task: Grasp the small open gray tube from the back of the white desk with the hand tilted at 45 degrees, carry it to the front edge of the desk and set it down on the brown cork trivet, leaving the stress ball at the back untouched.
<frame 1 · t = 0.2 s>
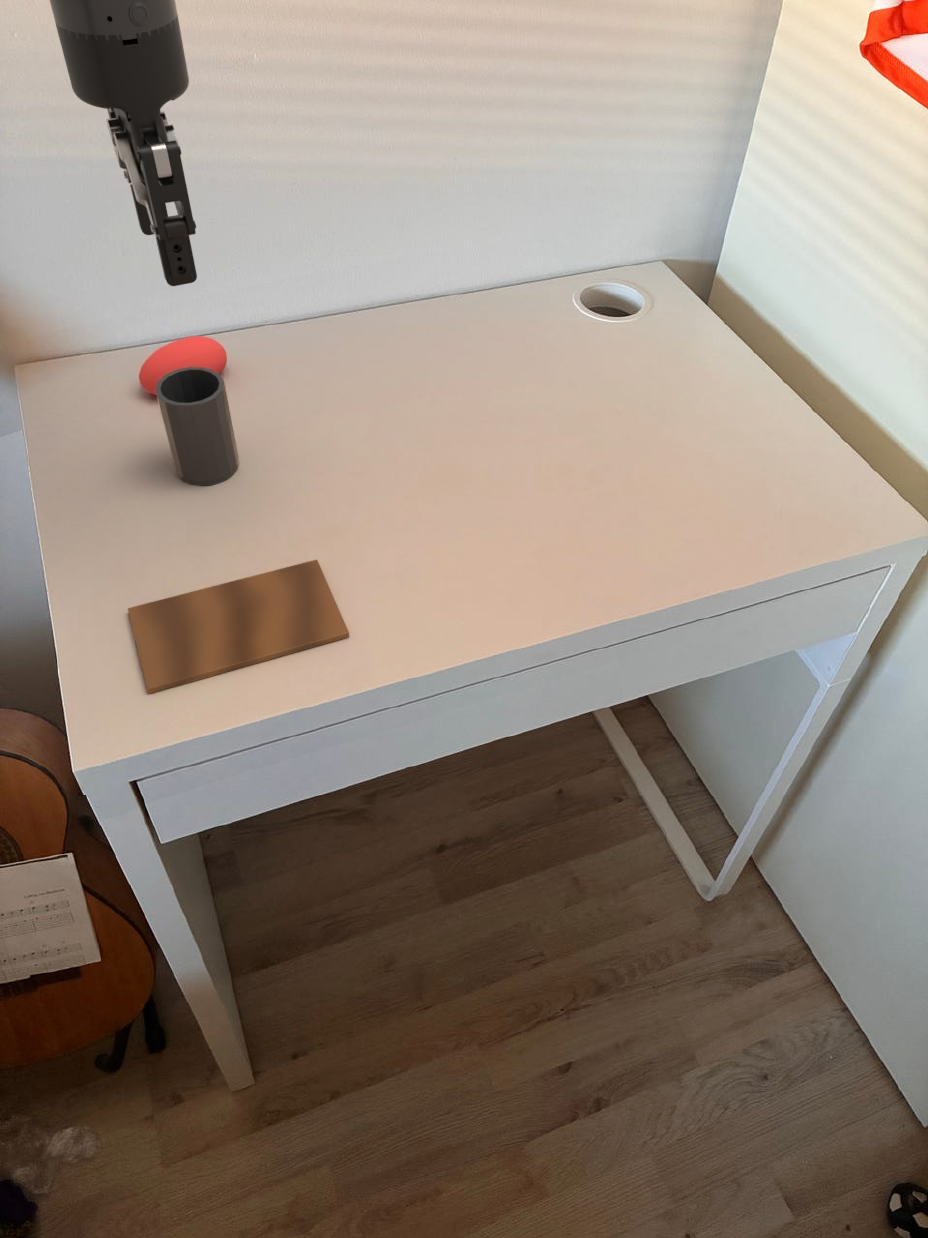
hand: (168, 256, 72), 23 cm above the table, tool pointing down, fingers open, 8 cm apart
open gray tube: (207, 465, 91), on the table
stress ball: (188, 385, 100), on the table
trivet: (238, 625, 77), on the table
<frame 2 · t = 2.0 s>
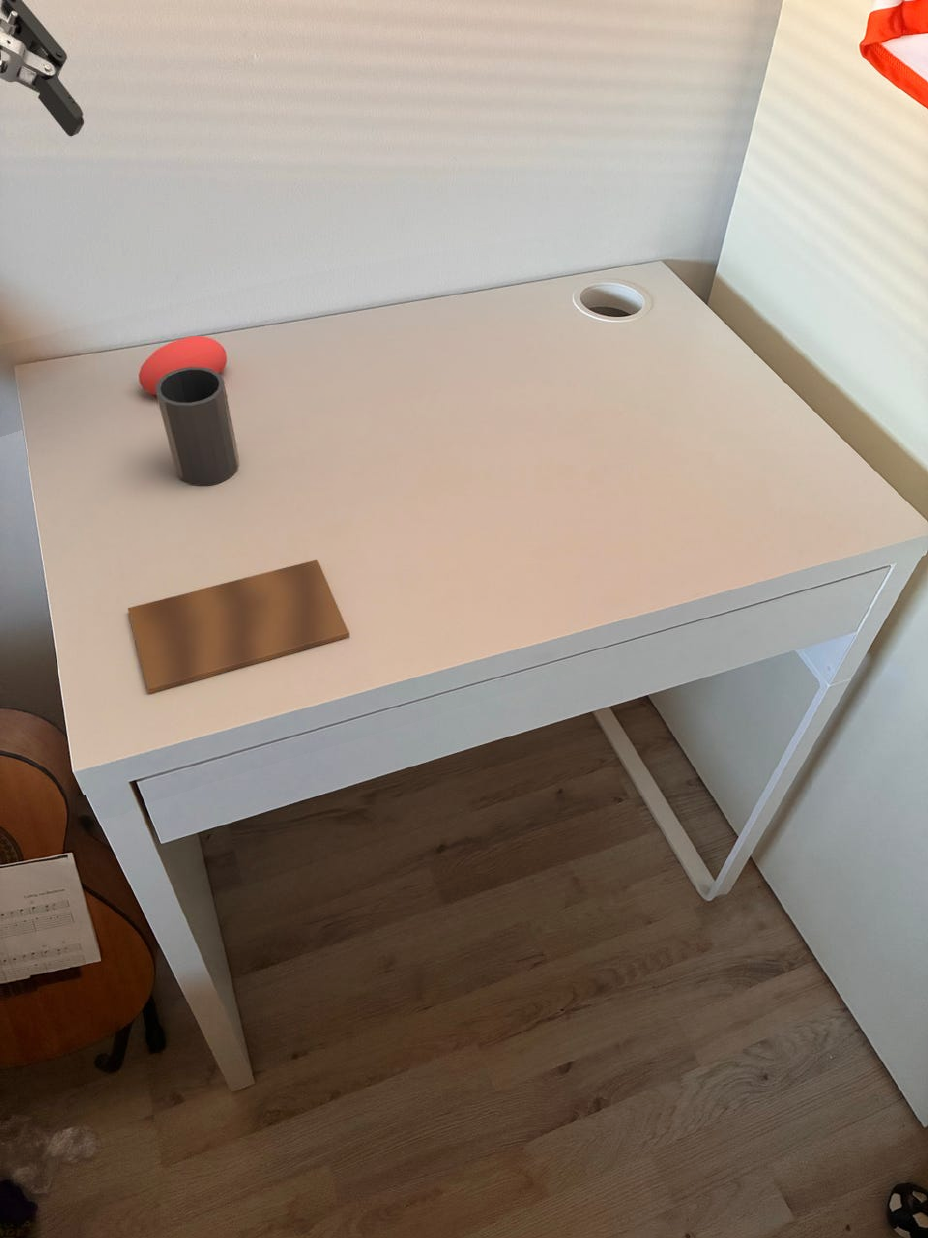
hand: (37, 147, 74), 27 cm above the table, tool tilted 45°, fingers open, 8 cm apart
nothing on the table moved.
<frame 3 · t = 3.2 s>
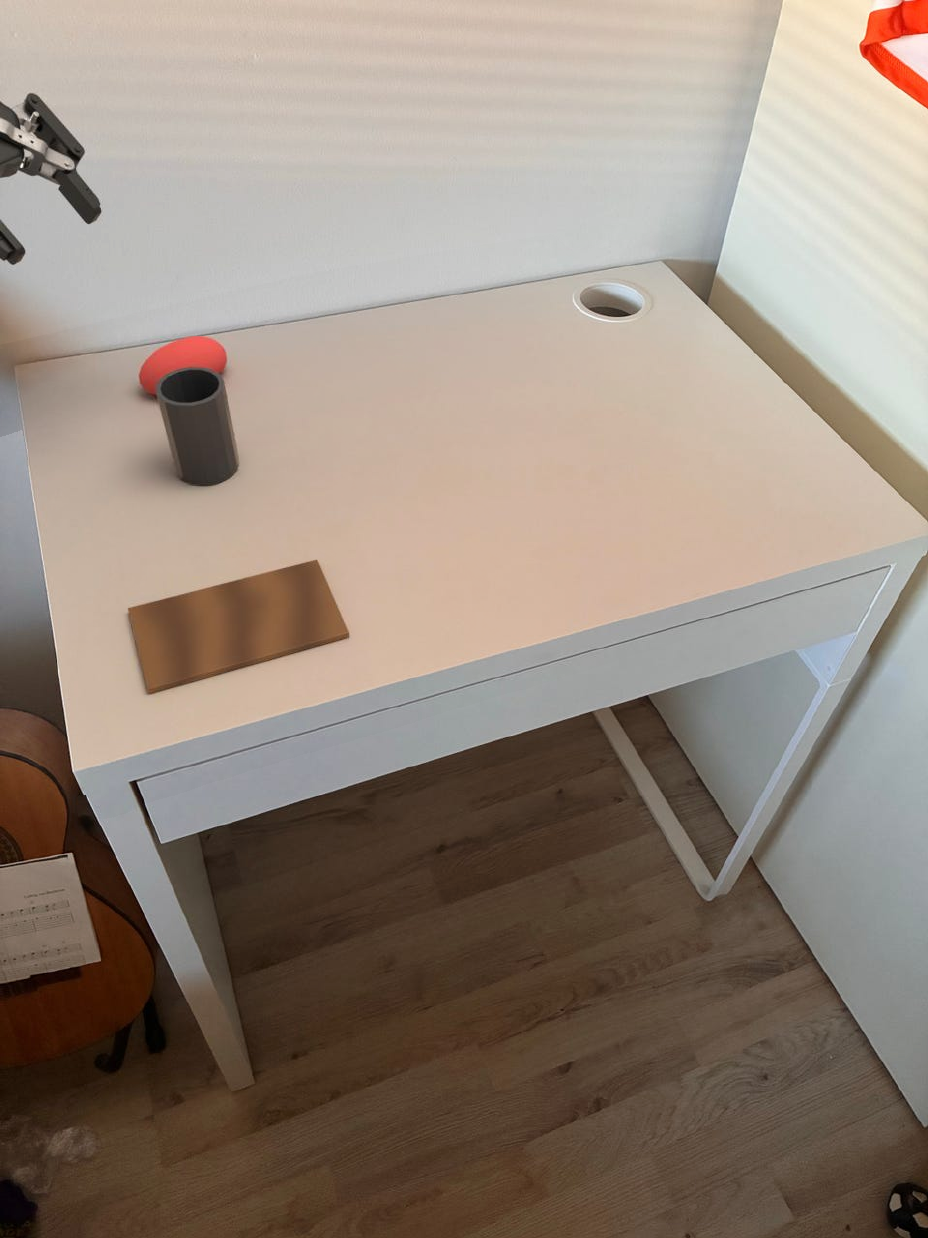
hand: (59, 237, 80), 19 cm above the table, tool tilted 45°, fingers open, 8 cm apart
nothing on the table moved.
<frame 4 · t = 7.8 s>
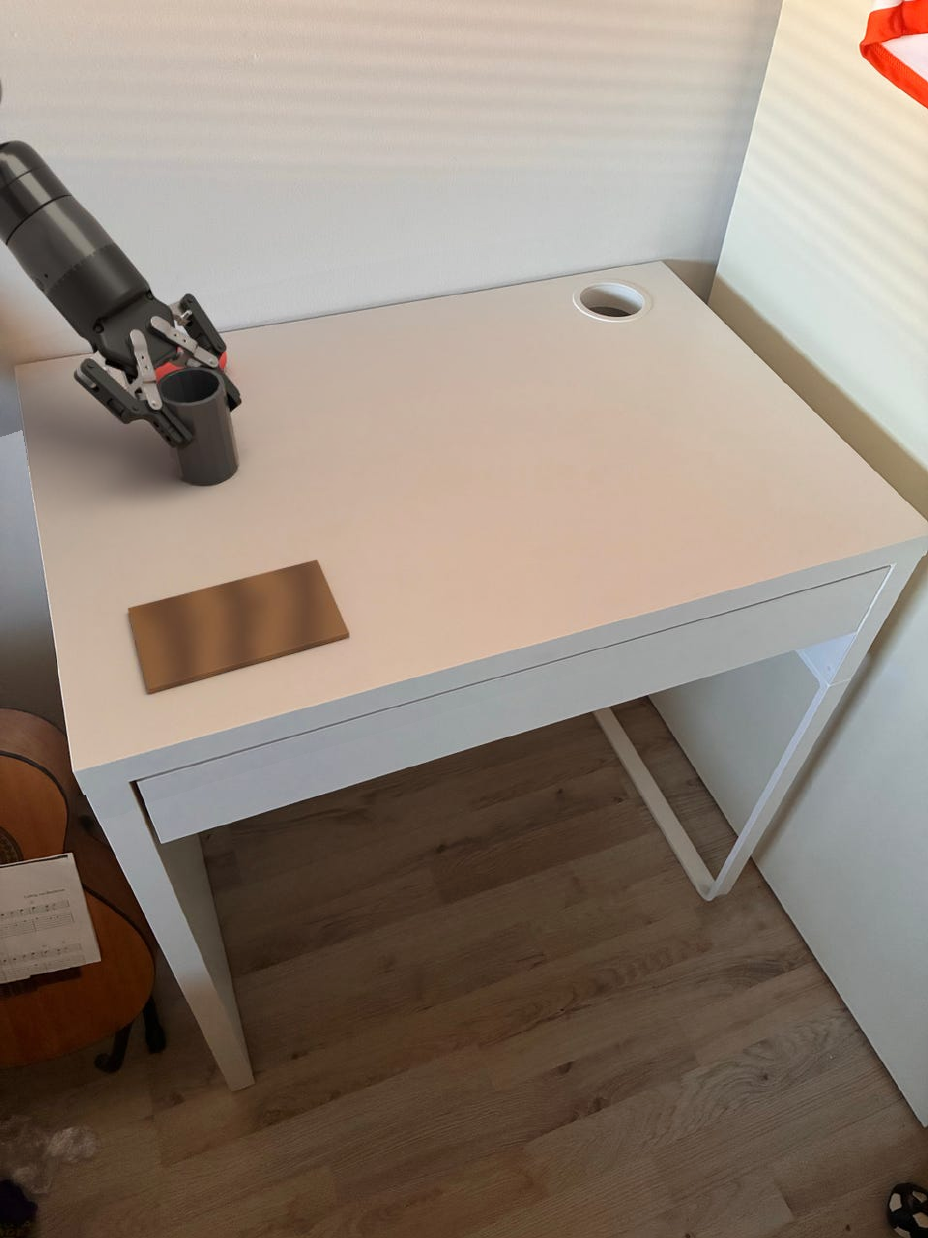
hand: (212, 425, 86), 5 cm above the table, tool tilted 45°, fingers closed on open gray tube, 6 cm apart
open gray tube: (207, 465, 91), on the table, touching gripper
everything else where it was.
when the fingers open (6 cm above the table, at t = 16.9 s): open gray tube stays where it is, resting on trivet.
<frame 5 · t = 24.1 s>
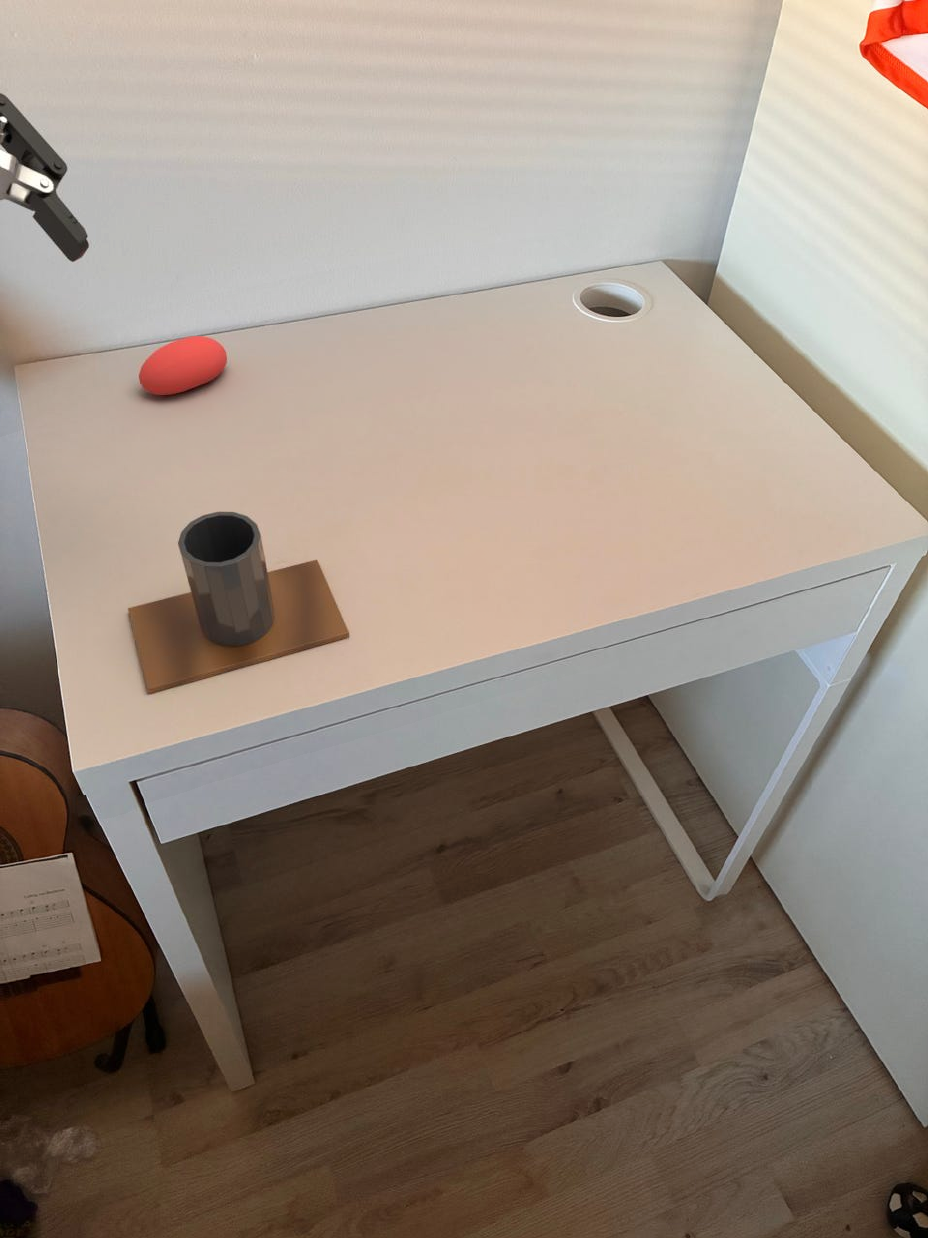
hand: (33, 281, 61), 27 cm above the table, tool tilted 45°, fingers open, 8 cm apart
open gray tube: (237, 619, 77), point 1 cm above the table, touching trivet
everything else where it was.
at the end: open gray tube inside the target area on the trivet (0.1 cm from its centre), point 0.6 cm above the trivet's base; open gray tube tilted 0°; stress ball moved 0.2 cm from its start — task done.
